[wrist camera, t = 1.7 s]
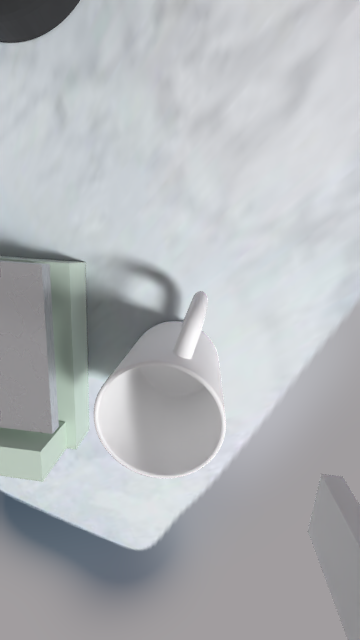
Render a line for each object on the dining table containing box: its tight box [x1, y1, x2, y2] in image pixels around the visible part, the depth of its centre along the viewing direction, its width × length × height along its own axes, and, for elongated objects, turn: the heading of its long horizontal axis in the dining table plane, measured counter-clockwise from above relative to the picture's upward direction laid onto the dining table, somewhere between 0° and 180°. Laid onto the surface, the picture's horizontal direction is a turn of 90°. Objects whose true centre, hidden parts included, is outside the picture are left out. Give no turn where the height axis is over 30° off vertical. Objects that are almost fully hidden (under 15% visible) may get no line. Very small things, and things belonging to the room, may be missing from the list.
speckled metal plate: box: [0, 260, 59, 434], centre depth 23 cm, size 14×10×3 cm
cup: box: [94, 291, 226, 478], centre depth 21 cm, size 8×12×10 cm
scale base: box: [0, 256, 89, 482], centre depth 24 cm, size 19×11×7 cm, turn 176°
